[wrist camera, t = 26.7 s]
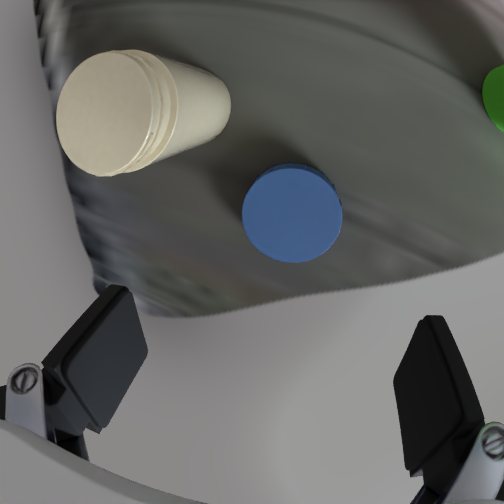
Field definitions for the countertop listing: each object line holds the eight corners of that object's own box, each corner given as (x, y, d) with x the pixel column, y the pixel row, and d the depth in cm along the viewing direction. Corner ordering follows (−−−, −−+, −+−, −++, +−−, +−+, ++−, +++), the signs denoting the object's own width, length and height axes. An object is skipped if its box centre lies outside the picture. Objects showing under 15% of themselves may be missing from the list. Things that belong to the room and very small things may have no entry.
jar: (143, 122, 20) (39, 145, 11) (179, 56, 17) (83, 29, 8) (204, 160, 21) (123, 207, 11) (247, 92, 18) (189, 76, 9)
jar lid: (237, 237, 23) (232, 248, 21) (258, 150, 20) (253, 154, 18) (322, 262, 23) (323, 274, 21) (352, 178, 19) (357, 185, 18)
